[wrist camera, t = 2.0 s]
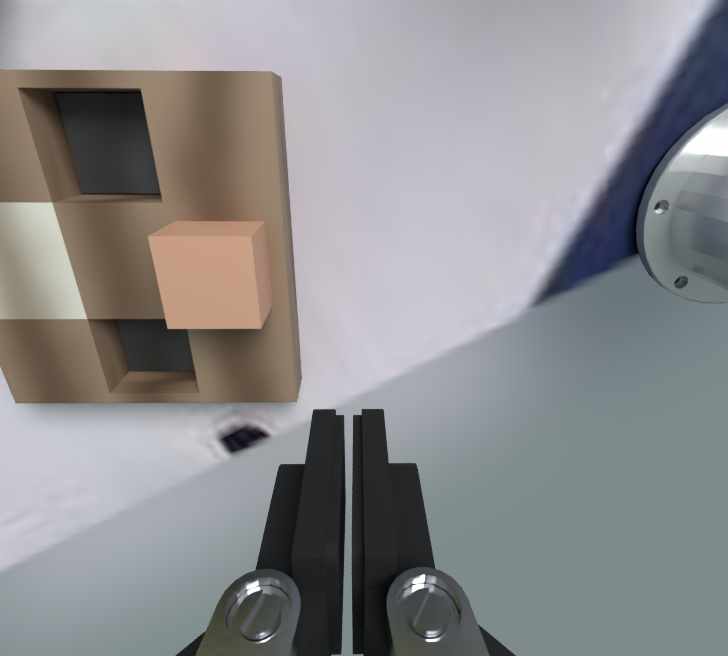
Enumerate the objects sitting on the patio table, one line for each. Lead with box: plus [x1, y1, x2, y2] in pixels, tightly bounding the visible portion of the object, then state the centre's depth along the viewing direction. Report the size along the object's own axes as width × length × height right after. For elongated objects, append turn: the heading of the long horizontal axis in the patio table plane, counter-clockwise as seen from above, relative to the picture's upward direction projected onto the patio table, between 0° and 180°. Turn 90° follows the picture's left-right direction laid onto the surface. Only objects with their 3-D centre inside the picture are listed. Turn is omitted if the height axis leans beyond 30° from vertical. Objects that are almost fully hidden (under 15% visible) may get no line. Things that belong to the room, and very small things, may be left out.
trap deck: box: [0, 70, 302, 403], centre depth 26 cm, size 19×20×3 cm
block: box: [148, 221, 273, 329], centre depth 24 cm, size 5×5×4 cm
